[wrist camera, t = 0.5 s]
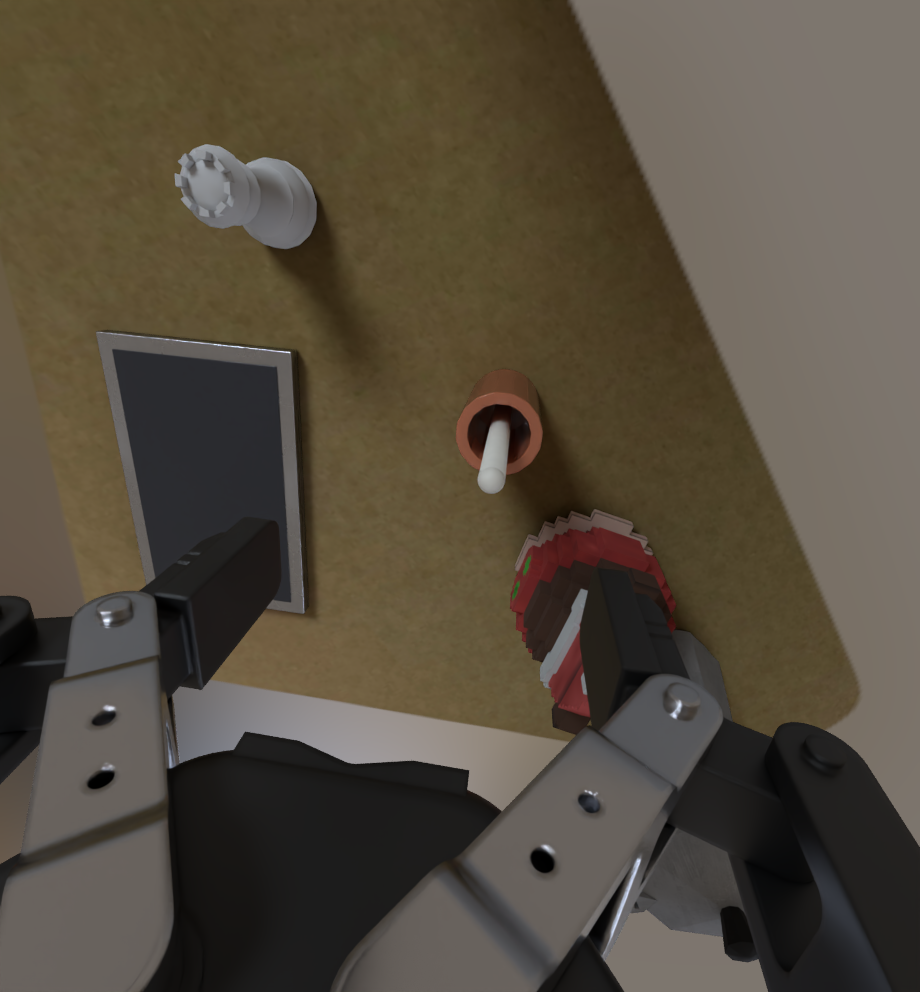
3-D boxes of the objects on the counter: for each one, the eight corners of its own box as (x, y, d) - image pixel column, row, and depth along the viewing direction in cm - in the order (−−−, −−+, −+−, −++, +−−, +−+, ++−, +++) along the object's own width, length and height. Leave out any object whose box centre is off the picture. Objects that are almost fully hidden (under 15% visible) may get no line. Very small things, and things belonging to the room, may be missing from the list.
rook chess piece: (311, 261, 30) (243, 256, 23) (239, 233, 30) (149, 220, 23) (327, 178, 28) (260, 145, 21) (252, 148, 28) (157, 104, 21)
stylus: (496, 396, 32) (478, 470, 20) (513, 398, 32) (506, 473, 20) (493, 413, 32) (475, 496, 20) (511, 415, 32) (502, 499, 20)
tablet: (107, 329, 34) (94, 331, 33) (297, 350, 33) (290, 352, 32) (155, 584, 42) (146, 592, 41) (309, 606, 41) (303, 615, 40)
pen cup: (473, 365, 32) (459, 388, 25) (544, 372, 31) (548, 397, 25) (466, 433, 33) (452, 470, 27) (533, 440, 33) (535, 480, 27)
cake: (612, 642, 39) (676, 914, 22) (496, 602, 38) (474, 847, 22) (680, 525, 34) (823, 756, 18) (550, 479, 34) (572, 670, 18)
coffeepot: (732, 602, 36) (904, 876, 20) (756, 700, 39) (922, 1006, 23) (525, 651, 40) (525, 914, 24) (562, 736, 43) (584, 1021, 27)
